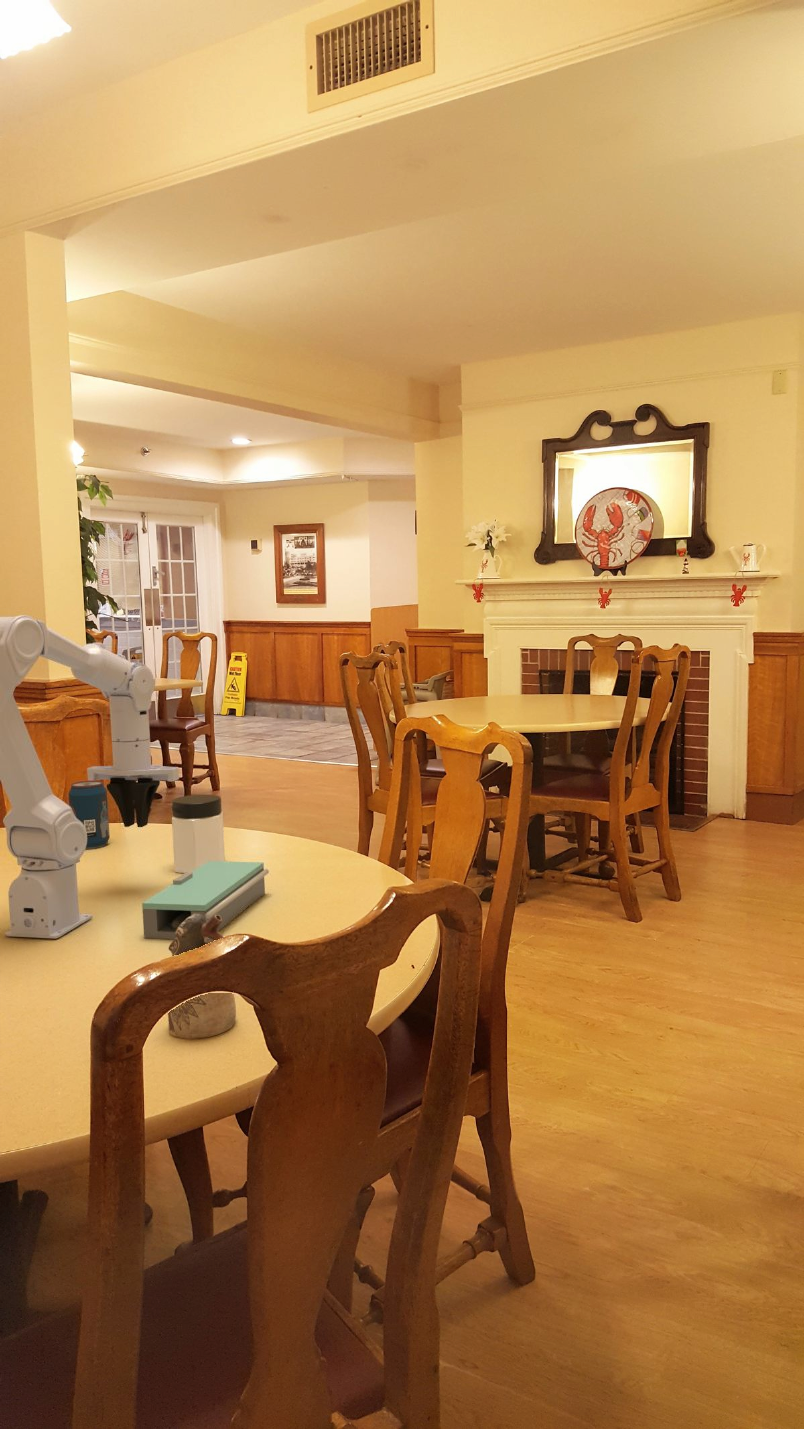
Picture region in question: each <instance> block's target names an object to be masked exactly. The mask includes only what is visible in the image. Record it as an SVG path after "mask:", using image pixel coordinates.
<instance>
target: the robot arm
mask: <svg viewBox="0 0 804 1429" xmlns="http://www.w3.org/2000/svg"><path fill="white" fill-rule="evenodd" d="M39 657H41V658H44V659H47V660H50V661H52V662H55V663H57V664H60V665H63V666H66V667H68V668H70V670H71V673H72V676H73V677H74V678H75V679H76V680H78V681H80V682H82V683H84V684H87V685H89V686H92V687H94V688H95V689H96V688H97V689H98V690H100V692H101V694H102V696H103V697H104V698H106V699H109V714H110V732H111V748H112V763H113V764H112V765H104V766H103V765H97V766H94V765H93V766H90V767H87V768H86V770H87V773H86V774H87V781H102V780H103V781H104V780H105V781H107V780H109V783H108V784H106V790H107V792H109V794H110V795H111V797H112V799H113V800H114V802H115V804H116V806H117V808H118V811H119V814H120V816H121V819H122V822H123V826H124V828H129V827H131V826H133V825H135V821H136V827H137V828H143V827H146V826H148V823H149V816H150V812H151V807H152V803H153V800H154V797H155V795H156V793H157V790H158V788H159V787H160V784H161V781H167V782H175V781H178V780H180V776H179V775H180V772H179V770H180V768H179V766H165V765H164V766H163V765H156V764H154V765H153V764H152V754H151V751H152V750H151V735H150V734H151V733H150V732H151V731H150V717H149V715H150V714H149V710H150V709H151V706H152V696H153V693H154V691H155V689H156V678H154V675H153V672H152V670H151V669H150V668H149V667H148V666H147V665H146V664H145V663H143V662H132V661H129V660H128V659H126V656H125V655H123V654H120V653H119V654H116V653H113V652H111V651H109V650H107V649H106V644H104V643H102V642H92V643H86V644H84V645H80V644H78V643H76V642H74V641H73V640H71V639H69V638H68V637H65V636H64V635H63V634H60V633H59V632H57V631H55V630H54V629H52V628H50V627H48V626H47V625H46V622H44V621H43V620H39V619H35V618H34V617H32V616H30V615H26V614H23V615H16V616H0V782H1V786H2V787H3V790H4V792H5V794H6V797H7V799H8V801H9V803H10V807H11V808H10V809H9V810H8V811H7V813H6V814H5V816H4V817H3V820H2V822H3V825H4V827H5V831H6V845H7V849H8V851H9V852H10V854H11V855H12V856H13V857H14V858H16V860H17V862H16V863H17V865H18V866H20V867H21V869H20V873H19V875H18V876H17V877H16V878H15V879H14V880H13V881H12V882H11V884H10V886H9V889H8V895H7V896H8V907H9V908H8V910H9V923H10V929H9V930H8V931H5V936H6V937H18V938H19V937H20V938H37V939H59V938H60V937H61V936H62V937H63V936H64V935H65V934H67V933H68V932H70V931H71V930H74V929H75V928H78V927H79V926H80V925H82V924H84V923H86V922H87V921H89V920H90V919H92V918H93V914H90V913H80V906H79V892H78V891H79V890H78V888H79V887H78V874H77V864H78V863H80V862H81V861H80V859H81V858H82V856H83V855H84V853H85V852H86V849H85V848H86V845H87V832H86V829H85V826H84V825H83V823H82V822H81V821H79V820H78V819H77V818H76V817H75V815H74V813H73V811H72V808H71V807H70V806H69V804H67V803H66V802H65V801H63V800H62V799H60V798H59V797H57V795H54V792H53V791H52V788H51V786H50V784H49V781H48V778H47V776H46V773H45V771H44V768H43V767H42V763H41V761H40V758H39V756H38V753H37V752H36V749H35V746H34V744H33V741H32V739H31V736H30V733H29V731H28V729H27V726H26V724H25V722H24V719H23V716H22V714H21V711H20V708H19V707H18V704H17V702H16V700H15V696H14V691H15V689H16V687H17V686H19V685H21V683H22V682H23V681H24V679H25V678H26V677H27V675H28V674H29V672H30V670H31V669H32V667H33V666H34V665H35V664H36V662H37V661H38V660H39ZM135 819H136V820H135Z"/></svg>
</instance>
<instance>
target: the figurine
mask: <svg viewBox="0 0 804 1429" xmlns="http://www.w3.org/2000/svg"><path fill="white" fill-rule="evenodd" d="M221 922H222V919H221V917H220V916H219V915H215V916H213V917H212V918H211V919H210V920H209V922H208V923H206V920H205V918H204V917H203V916H202V915H201V914H194V915H192V916H190V917H188V918H187V919H186V920H185V921H183V922H182V924H181V925H180V926H179V927H178V928H177V930H176V932H175V939H174V940H173V941H172V942H170V944H169V946H168V950H169V951H170V953H171V957H172V956H174V955H179V954H181V953H183V952H187V951H189V950H193V949H195V948H199V947H201V946H203V945H205V944H208V943H210V942H213V941H214V940H218V939H220V938H224V935H222V934H221V932H220V931H217V928H218V927H219V925H220V924H221ZM167 1016H168V1018H167V1019H168V1020H167V1021H168V1031H169V1033H170V1036H173V1037H175V1038H180V1039H186V1040H191V1039H192V1040H193V1039H203V1038H209V1037H214V1036H217V1035H219V1034H223V1033H225V1032H226V1031H229V1030H230V1029H232V1027H233V1026H234V1023H235V1021H236V1017H237V1006H236V998H235V993H234V994H232V993H208V994H205V995H200V996H198V997H195V998H193V999H190V1000H188V1001H186V1002H185V1003H182V1004H181V1005H179V1006H178V1007H176V1008H175V1009H173V1010H171V1011H170V1012H169V1013H168V1012H167Z"/></svg>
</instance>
